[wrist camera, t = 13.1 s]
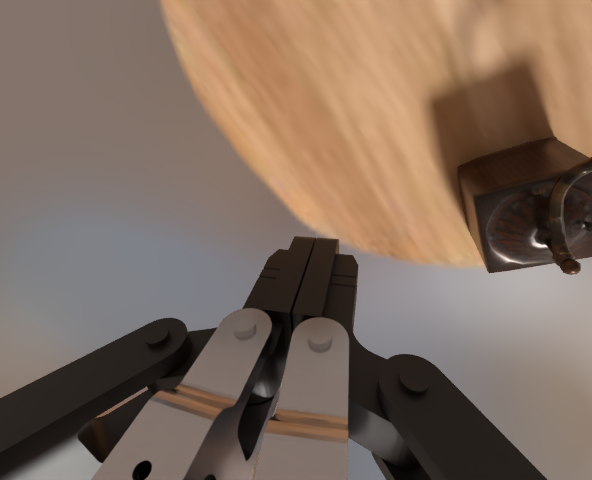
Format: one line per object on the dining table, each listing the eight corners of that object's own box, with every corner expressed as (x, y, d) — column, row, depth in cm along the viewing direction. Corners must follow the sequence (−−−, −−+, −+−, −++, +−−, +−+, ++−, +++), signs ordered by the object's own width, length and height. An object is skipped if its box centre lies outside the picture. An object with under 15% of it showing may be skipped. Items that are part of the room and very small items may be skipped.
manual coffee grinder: (566, 212, 38) (684, 320, 23) (468, 234, 42) (515, 337, 28) (561, 85, 32) (720, 123, 17) (445, 126, 36) (491, 186, 21)
